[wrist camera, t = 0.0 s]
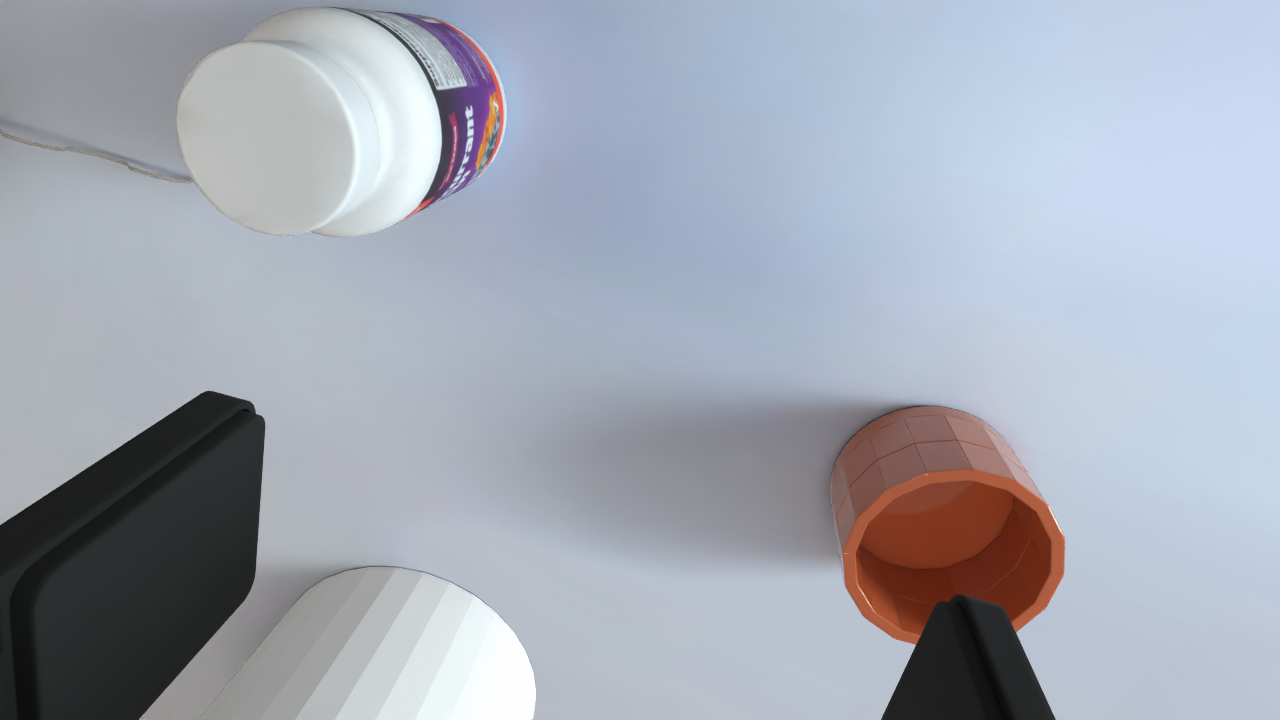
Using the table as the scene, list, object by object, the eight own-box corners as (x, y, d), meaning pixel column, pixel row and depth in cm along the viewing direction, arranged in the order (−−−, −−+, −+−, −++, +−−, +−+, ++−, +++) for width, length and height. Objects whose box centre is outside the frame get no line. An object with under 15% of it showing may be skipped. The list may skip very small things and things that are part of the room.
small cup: (864, 384, 28) (885, 445, 24) (1049, 433, 28) (1103, 503, 23) (805, 538, 30) (816, 618, 26) (975, 584, 30) (1012, 671, 26)
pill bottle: (448, 225, 27) (304, 317, 18) (316, 115, 27) (98, 154, 18) (545, 97, 26) (438, 129, 17) (408, -26, 25) (215, -63, 16)
